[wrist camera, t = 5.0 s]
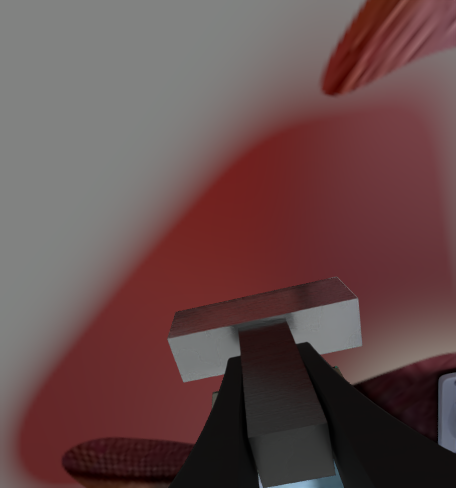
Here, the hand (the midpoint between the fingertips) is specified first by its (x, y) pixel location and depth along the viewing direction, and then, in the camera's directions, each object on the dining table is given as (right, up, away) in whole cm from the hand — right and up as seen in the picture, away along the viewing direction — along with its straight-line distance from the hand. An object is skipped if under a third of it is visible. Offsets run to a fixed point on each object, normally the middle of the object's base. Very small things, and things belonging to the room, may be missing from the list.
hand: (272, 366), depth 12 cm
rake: (0, +1, +4) cm, 4 cm away
